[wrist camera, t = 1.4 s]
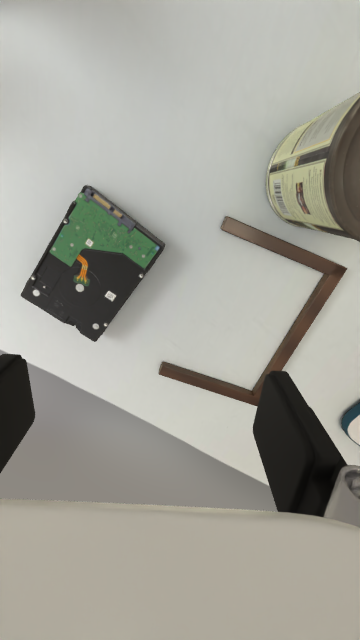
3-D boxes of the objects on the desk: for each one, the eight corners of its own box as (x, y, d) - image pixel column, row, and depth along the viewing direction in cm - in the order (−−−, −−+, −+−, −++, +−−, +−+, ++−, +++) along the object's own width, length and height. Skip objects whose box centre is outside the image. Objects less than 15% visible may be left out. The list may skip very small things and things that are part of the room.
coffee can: (383, 167, 29) (544, 145, 16) (308, 245, 33) (393, 278, 20) (320, 91, 27) (451, -7, 14) (244, 184, 30) (294, 176, 17)
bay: (225, 215, 31) (227, 216, 30) (342, 266, 34) (347, 268, 32) (158, 369, 40) (158, 374, 38) (256, 401, 42) (258, 406, 41)
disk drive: (102, 333, 37) (167, 242, 32) (96, 344, 35) (166, 247, 30) (30, 289, 35) (88, 183, 30) (18, 296, 32) (79, 182, 27)
